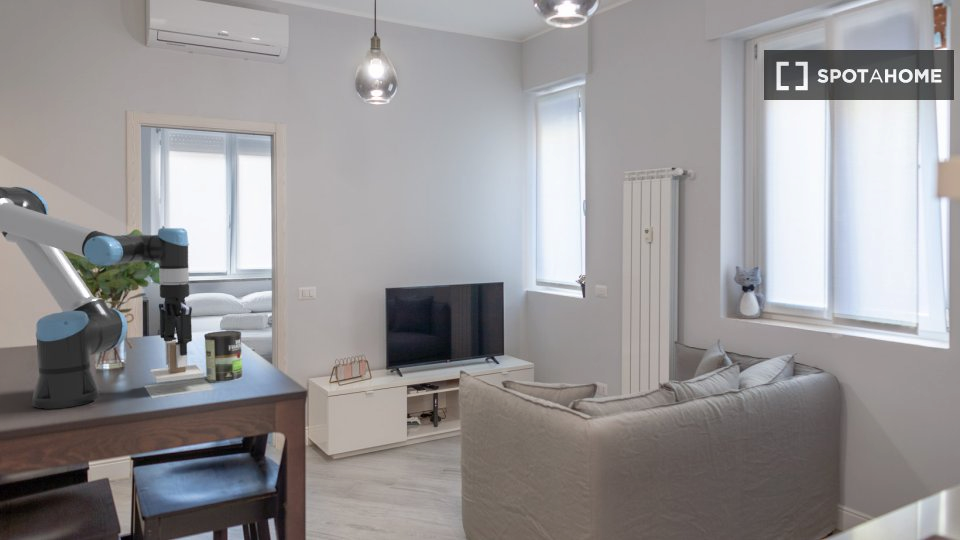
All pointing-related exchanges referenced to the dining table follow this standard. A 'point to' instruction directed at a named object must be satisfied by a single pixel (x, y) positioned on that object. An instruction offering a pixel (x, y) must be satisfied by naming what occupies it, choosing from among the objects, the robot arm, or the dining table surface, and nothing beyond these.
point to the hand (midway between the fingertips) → (176, 365)
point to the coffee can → (223, 356)
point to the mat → (178, 388)
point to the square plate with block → (175, 368)
